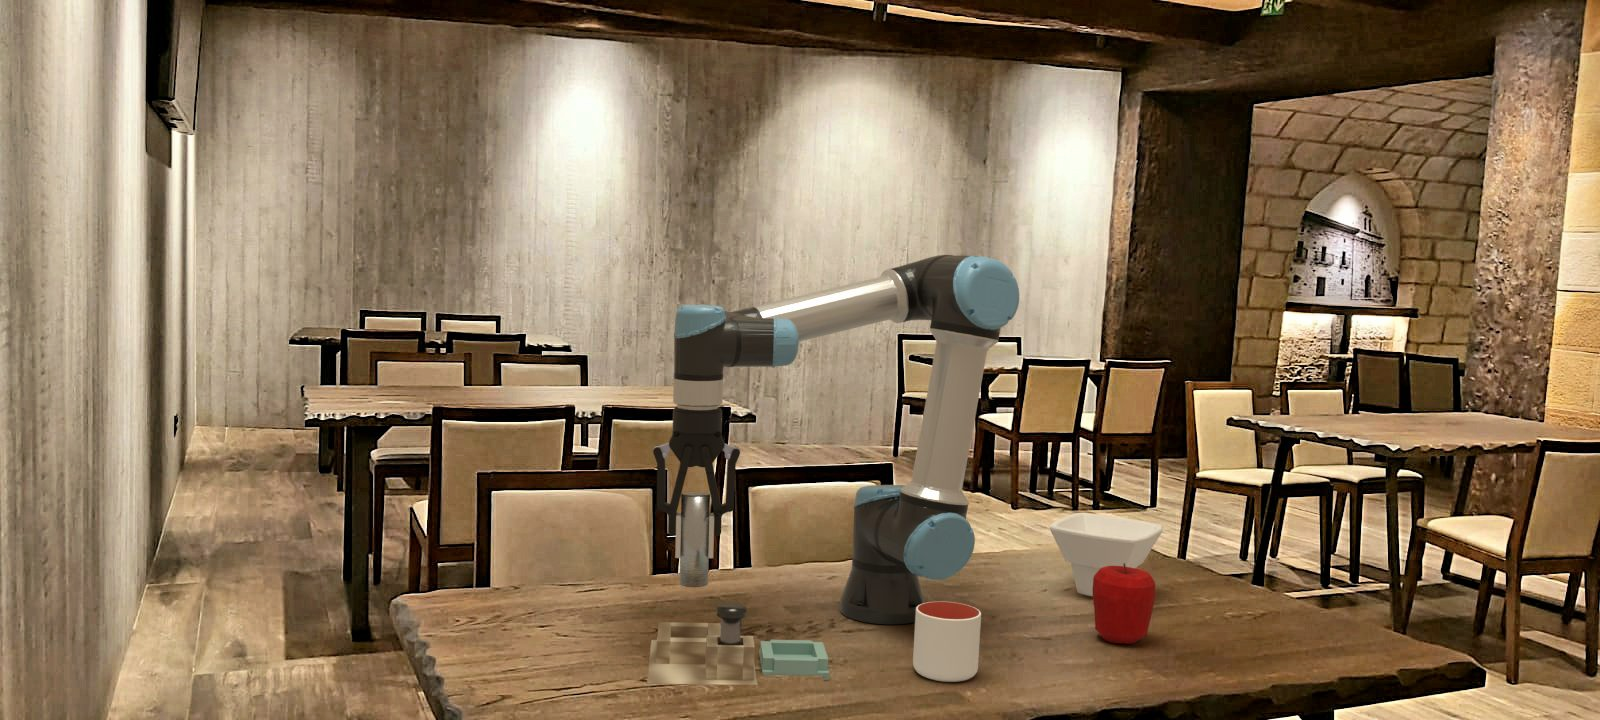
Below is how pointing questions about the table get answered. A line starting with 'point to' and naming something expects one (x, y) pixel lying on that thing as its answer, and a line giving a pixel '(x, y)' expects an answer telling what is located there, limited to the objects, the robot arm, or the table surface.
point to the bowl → (1102, 544)
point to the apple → (1123, 603)
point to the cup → (946, 641)
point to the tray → (793, 658)
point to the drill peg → (694, 539)
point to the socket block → (699, 656)
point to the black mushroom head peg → (731, 622)
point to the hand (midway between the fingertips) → (694, 555)
